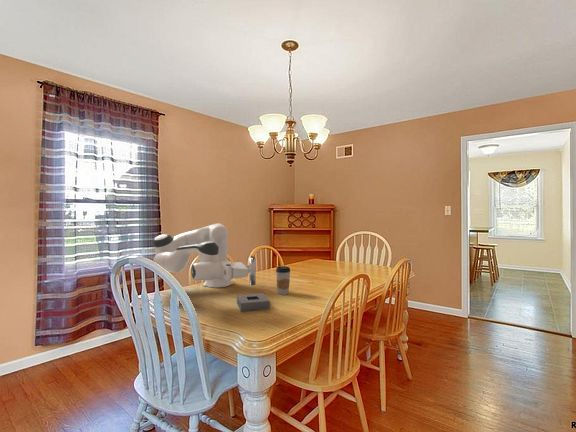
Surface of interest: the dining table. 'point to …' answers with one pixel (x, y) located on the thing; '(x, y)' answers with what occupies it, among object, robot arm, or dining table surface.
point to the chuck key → (253, 273)
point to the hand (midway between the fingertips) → (254, 268)
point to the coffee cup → (283, 279)
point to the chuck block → (253, 302)
